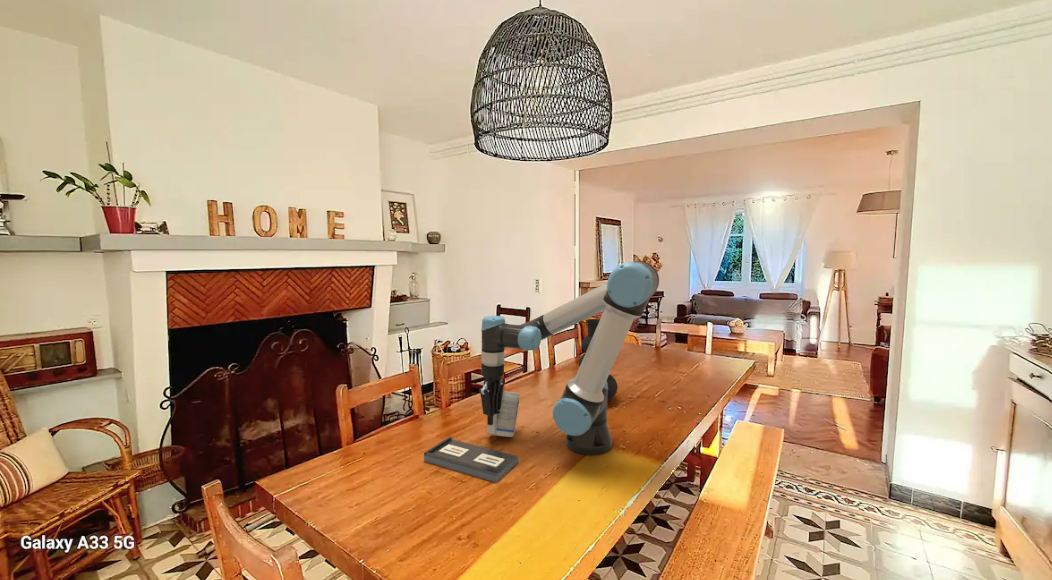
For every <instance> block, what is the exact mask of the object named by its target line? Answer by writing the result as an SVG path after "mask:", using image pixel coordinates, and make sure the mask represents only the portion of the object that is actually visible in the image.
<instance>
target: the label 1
mask: <svg viewBox="0 0 1052 580" xmlns="http://www.w3.org/2000/svg"><path fill="white" fill-rule="evenodd" d="M468 451H469V450H468V449H465V448H461V447H457V446H453V445H449V444H448V445H447V446H445V447H444V448H442V449H441V450H439V452H442V453H445V454H449V455H452V456H456V457H461V456H462V455H464V454H465V453H467V452H468Z"/></svg>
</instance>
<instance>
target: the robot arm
mask: <svg viewBox="0 0 1052 580" xmlns="http://www.w3.org/2000/svg"><path fill="white" fill-rule="evenodd" d="M659 285H660V276H659V273H658V271H657V269H656V268H655V267H654V266H653V265H652V264H651V263H649V262H646V261H643V260H635V261H634V260H633V261H626V262H623V263H620V264H619V265H618V266H617V267H615V268H614V269H613V270H612V271H611V273H609V276H608V279H607V282H605V283H603V284H601V285H600V286H597V287H596V288H594V289H592V290H590V291H588V292H585V293H584V294H582V295H580V296H578V297H575V298H574V299H571V300H570V301H568V302H566V303H564V304H561V305H559V306H558V307H556V308H554V309H552V310H550V311H548V312H546V313H544V314H542V315H540V316H538V317H536V318H534V319H531V320H529V321H526V322H524V323H522V324H510V323H509V324H508V323H506V319H505V317H504V316H500V315H488V316H487V315H486V316H484V317H483V318H482V320H481V321H482V322H481V365H480V367H481V368H480V371H481V372H480V375H481V376H482V377H483V386H482V388H481V387H480V388H479V389H478V392H479V394H480V399H481V400H480V401H481V407H482V413H483V415H486V416H487V421H486V423H487V426H486V432H487V434H489V433H490V435H493V434H494V436H496V435H495V434H496V424H497V414H499V413H500V411H498V410H500V409H501V402H502V395H503V391H504V387H505V383H506V380H505V379H502V377H503V376H504V375H505V364H504V363H505V348H507V349H508V348H509V349H513V350H515V349H516V350H522V351H525V352H526V351H537V349H539V347H540V345H541V342H542V341H543V340H545V339H548V338H550V337H551V336H553V335H555V334H558V333H560V332H562V331H564V330H565V329H568V328H571V327H572V326H575V325H576V324H579V323H581V322H583V321H585V320H587V319H591V317H593V316H595V315H598V314H600V313H602V315H601V317H600V318H599V319H600V321H599V323H598V326H597V328H596V330H595V333H594V335H593V337H592V340H591V342H590V344H589V347H588V349H587V351H586V354H585V356H584V358H583V361H582V363H581V365H580V367H579V368H578V370H577V372H576V375H575V376H573V377H572V378H570V379H569V380H568V381H567V382H566V385H565V387H564V390H563V392H562V394H561V396H560V398H559V399H558V400H557V401H556V403H555V404H554V406H553V408H552V419H553V421H554V423H555V425H556V427H557V428H558V429H559V430H560V431H561V432H563V434H566V437H565V445H566V446H567V448H568V449H569V450H571V451H573V452H574V453H577V454H580V455H581V454H582V455H588V456H589V455H590V456H594V455H595V456H596V455H597V456H598V455H603V454H606V453H608V452H609V451H611V449H612V446H613V445H612V444H613V439H612V435H611V432H610V430H609V426H608V425H609V424H608V403H607V394H608V385H607V381H606V380H607V378H608V376H609V374H610V375H611V372H612V370H611V369H613V368H612V367H614V365H615V362H616V360H617V358H618V356H619V353H620V352H621V349H622V347H623V345H624V343H625V340H626V338H627V336H628V334H629V332H630V329H631V327H632V324H633V323H634V320H636V319H639V318H641V317H642V316H643V315H644V312H645V309H646V307H647V305H648V303H649V301H650V299H651V297H652V296H653V295H654V294H656V292H657V290H658V288H659Z"/></svg>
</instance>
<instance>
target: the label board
mask: <svg viewBox="0 0 1052 580" xmlns="http://www.w3.org/2000/svg"><path fill="white" fill-rule="evenodd" d="M448 444H449V445H453V446H457V447H461V448H465V449H468V450H469V451H468V452H467V453H465V454H464V455H462V456H461V457H456V456H452V455H449V454H445V453H442V452H439V450H441V449H442V448H444V447H445V446H447V445H448ZM482 453H483V454H487V455H491V456H495V457H499V458H502V459H505V460H504V461H503V462H502V463H501V464H500V465H499V466H497V467H492V466H489V465H485V464H481V463H478V462H474V461H473V460H474V459H476V458H477V457H478V456H480V455H481V454H482ZM423 462H424V463H428V464H432V465H434V466H438V467H441V468H444V469H449V470H451V471H455V472H458V473H462V474H465V475H468V476H472V477H475V478H479V479H482V480H484V481H485V480H486V481H489V482H492V483H495V484H497V483H498V482H499V481H500V480H501V479H502V478H503V477H505V475H506V474H508V473H509V472H510V471H511V470H512V469H513V468H514V467H515V466H516V465H517V464H519V456H518V455H515V454H511V453H507V452H503V451H499V450H496V449H492V448H488V447H483V446H479V445H476V444H471V443H468V442H464V441H460V440H458V439H457V440H456V439H453V436H449V437H446V438H445V439H444V440H442V441H440V442H439V443H437V444H435V445H434V446H432V447H431V448H429V449H428V450H426V451H425V452H423Z"/></svg>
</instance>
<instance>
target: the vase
mask: <svg viewBox="0 0 1052 580" xmlns="http://www.w3.org/2000/svg"><path fill="white" fill-rule="evenodd" d="M600 319H601V318H587V319H585V320H584V321H585V323H586V326H587V335H585V337H584V338H583V340H582V342H581V348H582V350H583V352H584V353H583V354H582V355H581V356H580V357H579V360H578V367H579V368H580V365H581V363H582V361H583V358H584V356H585V354H586V351H587V349H588V347H589V344H590V342H591V340H592V337H593V335H594V333H595V330H596V328H597V326H598V323H599V321H600ZM613 367H614V366H613ZM613 367H612V369H613ZM612 369H611V371H612ZM606 381H607V385H608V394H607V404H608V403H609V402H610V400H612V399H613V398H614V397H615V396H616V394H617V392H618V383H617V380H616V379H615V377H614V376H612V375H611V373H610V374H609V376H608V378H607V380H606Z"/></svg>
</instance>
